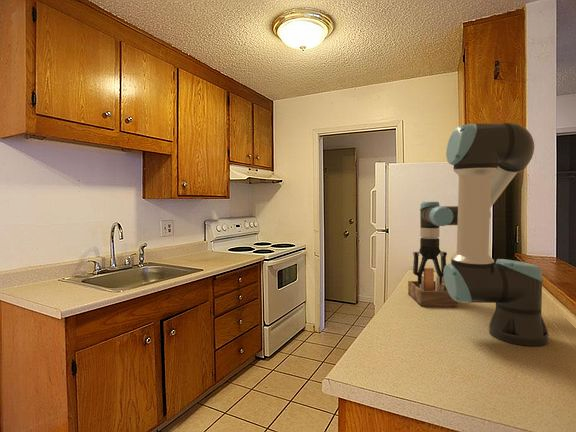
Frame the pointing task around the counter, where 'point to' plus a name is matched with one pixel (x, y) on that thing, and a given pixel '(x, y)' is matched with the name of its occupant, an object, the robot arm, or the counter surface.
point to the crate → (431, 296)
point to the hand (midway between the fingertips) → (429, 291)
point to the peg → (428, 279)
